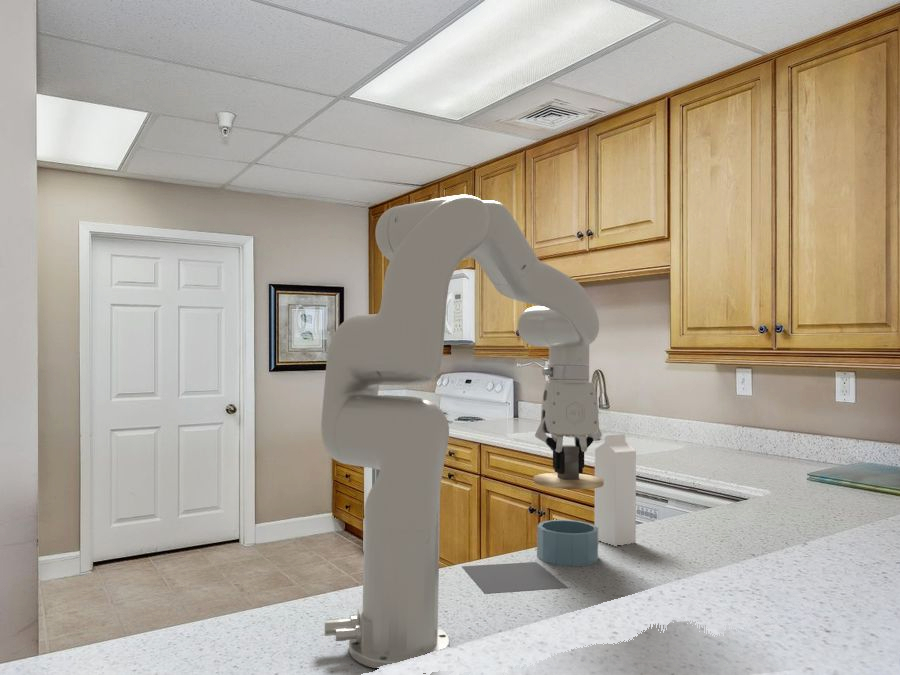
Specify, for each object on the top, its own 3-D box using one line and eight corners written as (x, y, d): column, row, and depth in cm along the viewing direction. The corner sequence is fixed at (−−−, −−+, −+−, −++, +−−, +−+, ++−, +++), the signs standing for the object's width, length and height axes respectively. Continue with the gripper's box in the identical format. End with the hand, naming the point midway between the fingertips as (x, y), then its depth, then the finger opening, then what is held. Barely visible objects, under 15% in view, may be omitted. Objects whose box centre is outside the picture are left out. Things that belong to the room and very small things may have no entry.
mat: (484, 596, 101) (484, 593, 101) (461, 569, 115) (461, 566, 115) (568, 590, 104) (568, 587, 105) (536, 564, 118) (536, 561, 118)
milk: (635, 543, 134) (637, 435, 135) (614, 547, 131) (616, 436, 132) (613, 536, 139) (615, 432, 140) (593, 539, 136) (594, 433, 137)
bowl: (551, 570, 115) (551, 535, 115) (529, 552, 126) (529, 521, 126) (608, 566, 118) (608, 532, 118) (581, 549, 128) (582, 518, 129)
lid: (549, 490, 115) (549, 451, 115) (523, 477, 127) (523, 442, 128) (616, 488, 118) (616, 450, 118) (584, 475, 130) (584, 441, 131)
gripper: (535, 374, 118) (534, 477, 117) (618, 375, 122) (617, 474, 121) (521, 374, 125) (520, 470, 124) (599, 374, 129) (599, 468, 128)
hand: (568, 471), depth 122 cm, fingers closed on lid, 3 cm apart
